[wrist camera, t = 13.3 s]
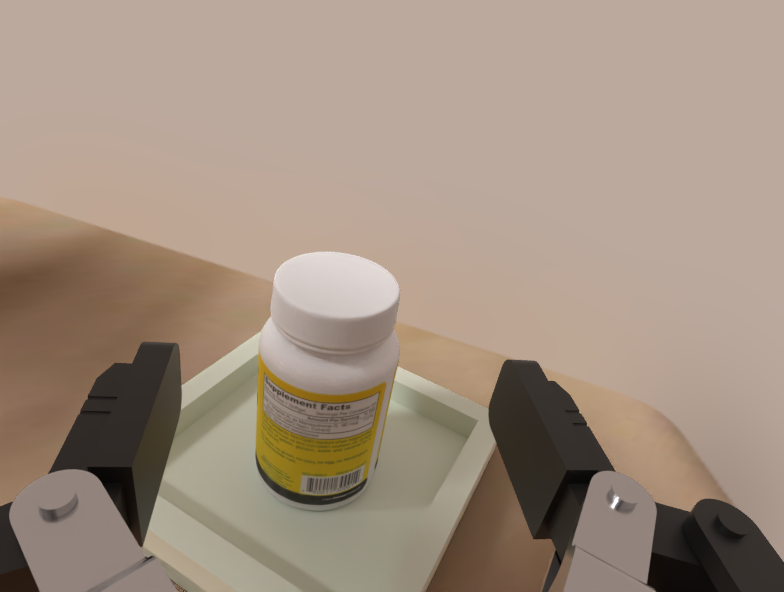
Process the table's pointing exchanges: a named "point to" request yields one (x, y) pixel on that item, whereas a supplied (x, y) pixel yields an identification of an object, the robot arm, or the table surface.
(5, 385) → the table surface
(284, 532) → the tray
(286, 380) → the supplement bottle
